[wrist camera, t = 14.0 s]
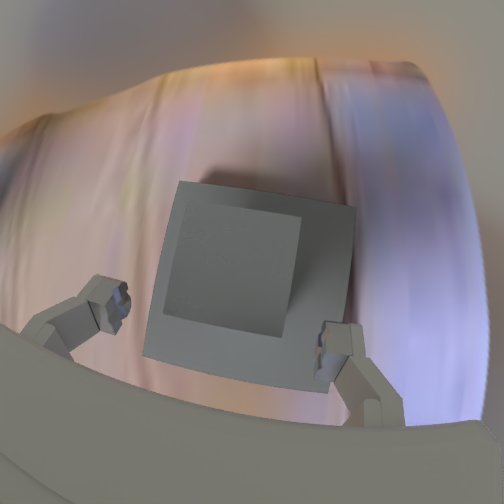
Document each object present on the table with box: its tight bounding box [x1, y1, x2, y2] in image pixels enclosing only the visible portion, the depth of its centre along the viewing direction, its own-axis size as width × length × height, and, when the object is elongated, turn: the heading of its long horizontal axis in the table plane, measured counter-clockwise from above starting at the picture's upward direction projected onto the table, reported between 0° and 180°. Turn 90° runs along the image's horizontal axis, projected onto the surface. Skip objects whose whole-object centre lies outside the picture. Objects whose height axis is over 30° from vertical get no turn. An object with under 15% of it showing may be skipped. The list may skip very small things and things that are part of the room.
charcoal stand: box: [142, 181, 356, 394], centre depth 22 cm, size 14×14×3 cm
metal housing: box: [163, 200, 302, 338], centre depth 16 cm, size 5×5×9 cm
